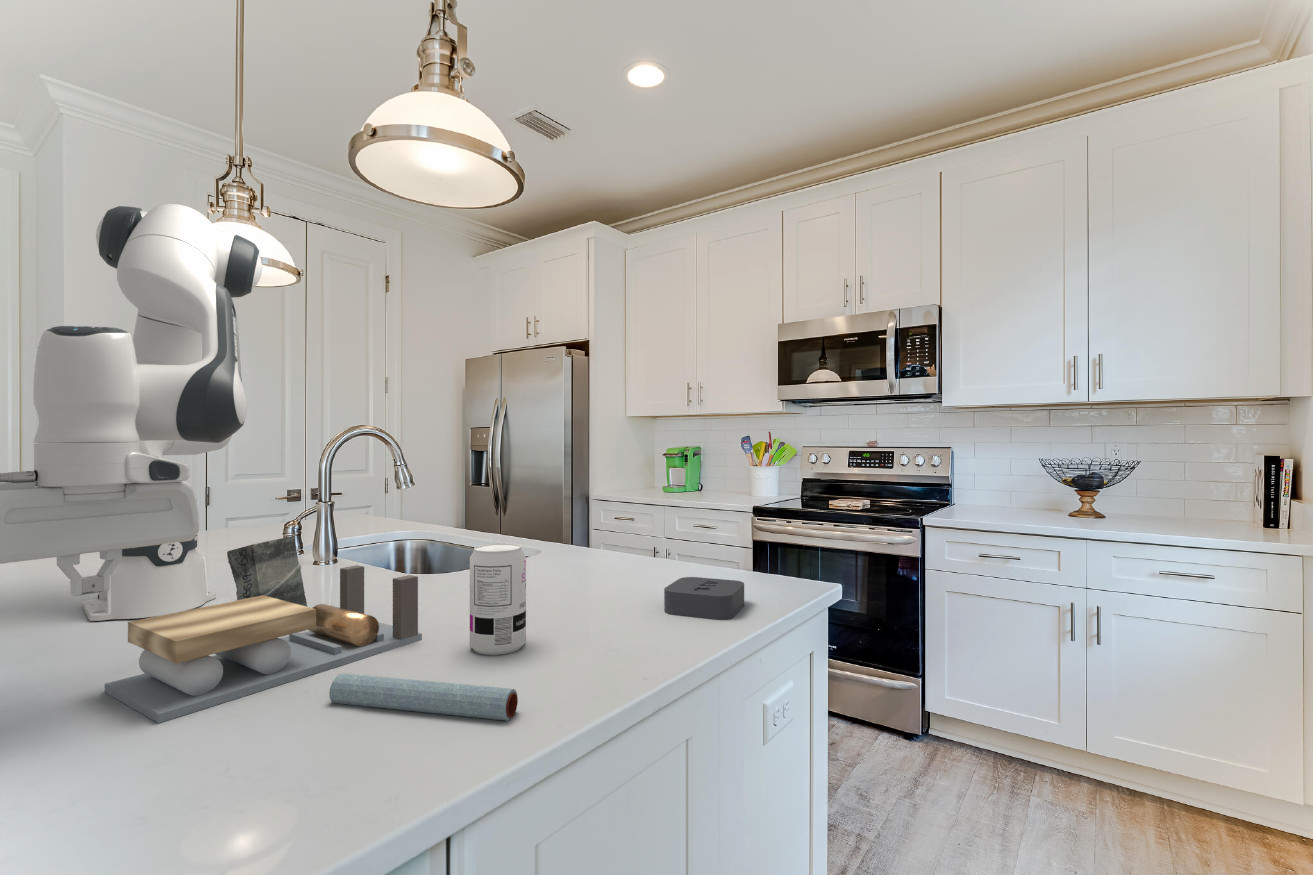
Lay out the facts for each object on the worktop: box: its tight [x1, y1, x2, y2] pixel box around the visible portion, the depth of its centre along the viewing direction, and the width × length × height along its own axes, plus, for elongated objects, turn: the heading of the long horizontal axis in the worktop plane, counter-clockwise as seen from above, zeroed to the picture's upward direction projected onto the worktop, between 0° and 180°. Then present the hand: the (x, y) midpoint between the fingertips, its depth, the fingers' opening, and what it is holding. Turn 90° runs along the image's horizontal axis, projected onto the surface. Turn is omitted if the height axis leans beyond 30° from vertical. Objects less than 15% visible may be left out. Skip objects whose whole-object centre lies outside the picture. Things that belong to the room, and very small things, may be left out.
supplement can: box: [469, 542, 527, 656], centre depth 95 cm, size 8×8×15 cm
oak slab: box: [127, 595, 316, 663], centre depth 82 cm, size 14×16×2 cm
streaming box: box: [663, 576, 745, 621], centre depth 116 cm, size 13×13×5 cm
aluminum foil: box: [328, 672, 519, 722], centre depth 72 cm, size 23×7×3 cm, turn 78°
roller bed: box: [104, 564, 423, 724], centre depth 88 cm, size 16×34×10 cm, turn 147°
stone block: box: [226, 535, 308, 607], centre depth 102 cm, size 9×14×5 cm
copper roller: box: [308, 603, 380, 646], centre depth 96 cm, size 12×4×4 cm, turn 58°
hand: (90, 593), depth 70 cm, fingers closed
